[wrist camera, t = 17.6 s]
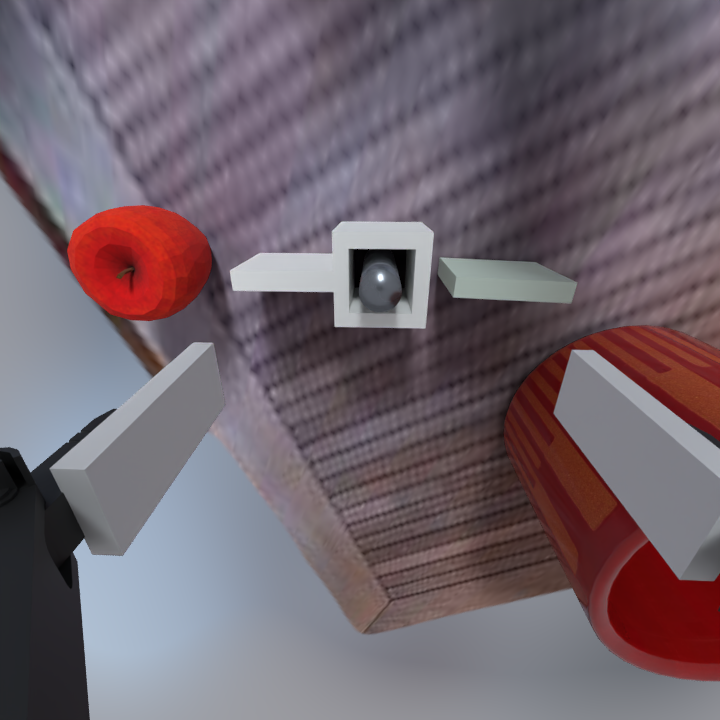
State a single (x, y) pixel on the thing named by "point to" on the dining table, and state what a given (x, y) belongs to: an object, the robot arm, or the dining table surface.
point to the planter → (607, 514)
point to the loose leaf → (504, 280)
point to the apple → (140, 261)
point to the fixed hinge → (349, 273)
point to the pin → (380, 281)
